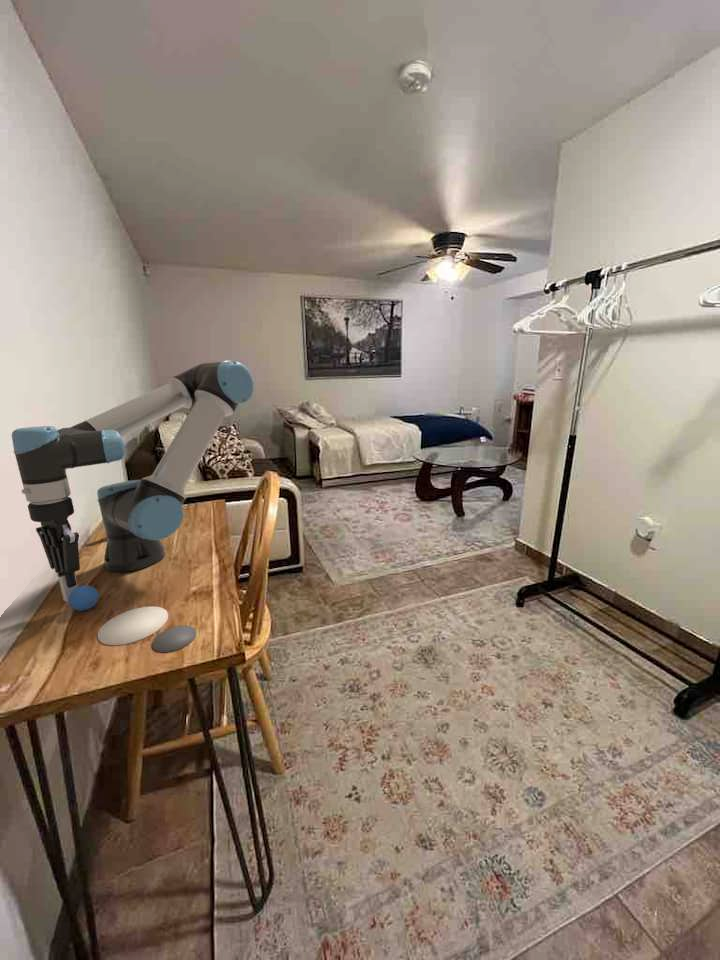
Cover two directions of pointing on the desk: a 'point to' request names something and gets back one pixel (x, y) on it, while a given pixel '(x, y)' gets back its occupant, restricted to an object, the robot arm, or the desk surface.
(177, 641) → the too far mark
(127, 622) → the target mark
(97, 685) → the desk surface
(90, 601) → the ball
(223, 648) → the desk surface
